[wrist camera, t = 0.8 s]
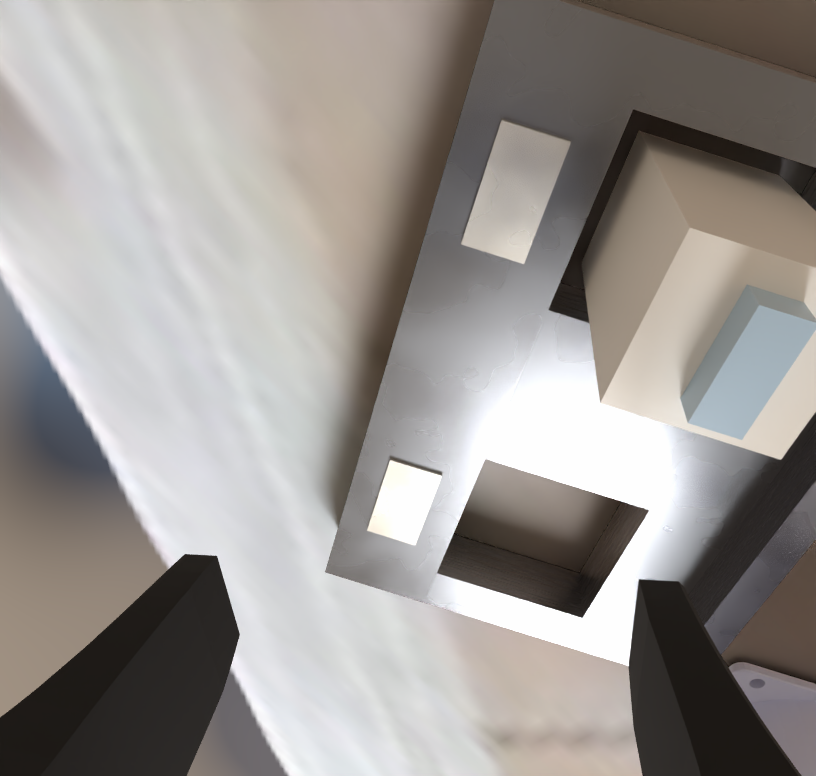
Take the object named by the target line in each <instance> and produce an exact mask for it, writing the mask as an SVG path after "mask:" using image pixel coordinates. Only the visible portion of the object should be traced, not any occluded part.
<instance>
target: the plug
mask: <svg viewBox="0 0 816 776" xmlns="http://www.w3.org/2000/svg"><path fill="white" fill-rule="evenodd" d="M581 264H582V272H583V279H584V287H585V294H586V302H587V309H588V317H589V324H590V331H591V339H592V346H593V354H594V361H595V369H596V376H597V384H598V391H599V399H600V403H601V404H604V405H607V406H611V407H614V408H617V409H620V410H623V411H627V412H630V413H633V414H636V415H639V416H643V417H646V418H649V419H652V420H655V421H658V422H662V423H665V424H668V425H671V426H674V427H678V428H681V429H684V430H687V431H690V432H694V433H697V434H700V435H703V436H706V437H709V438H713V439H716V440H719V441H722V442H725V443H729V444H732V445H735V446H738V447H741V448H745V449H748V450H751V451H754V452H757V453H761V454H764V455H767V456H770V457H773V458H776V459H780V460H781V459H782V458H783V456H784V455H785V454H786V452H787V451H788V449H789V448H790V447H791V445H792V444H793V442H794V441H795V440H796V438H797V437H798V436H799V434H800V433H801V431H802V430H803V429H804V427H805V426H806V424H807V423H808V422H809V420H810V419H811V418H812V416H813V415H814V413H815V412H816V211H815V210H814V209H813V208H812V207H811V206H810V205H809V204H808V203H807V202H806V201H805V200H804V199H803V198H802V197H801V196H800V195H799V194H798V193H797V192H796V191H795V190H794V189H793V188H792V187H791V186H790V185H789V184H788V183H787V182H786V181H785V180H784V179H783V178H782V177H781V176H779V175H777V174H773V173H770V172H767V171H764V170H761V169H758V168H755V167H751V166H748V165H745V164H742V163H739V162H736V161H733V160H730V159H726V158H723V157H720V156H717V155H714V154H711V153H708V152H705V151H701V150H698V149H695V148H692V147H689V146H686V145H683V144H680V143H676V142H673V141H670V140H667V139H664V138H661V137H658V136H654V135H651V134H648V133H645V132H642V131H639V132H638V134H637V136H636V138H635V141H634V143H633V145H632V148H631V150H630V152H629V155H628V157H627V159H626V161H625V164H624V166H623V168H622V171H621V173H620V175H619V178H618V180H617V182H616V184H615V187H614V189H613V191H612V194H611V196H610V198H609V201H608V203H607V205H606V207H605V210H604V212H603V214H602V217H601V219H600V221H599V224H598V226H597V228H596V230H595V233H594V235H593V237H592V240H591V242H590V244H589V247H588V249H587V251H586V253H585V256H584V258H583V260H582V263H581Z"/></svg>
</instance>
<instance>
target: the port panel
mask: <svg viewBox="0 0 816 776" xmlns="http://www.w3.org/2000/svg"><path fill="white" fill-rule="evenodd" d="M633 109H634V110H637V111H640V112H643V113H646V114H649V115H652V116H656V117H659V118H662V119H665V120H668V121H671V122H674V123H677V124H681V125H684V126H687V127H690V128H693V129H696V130H699V131H702V132H706V133H709V134H712V135H715V136H718V137H721V138H724V139H727V140H731V141H734V142H737V143H740V144H743V145H746V146H749V147H752V148H756V149H759V150H762V151H765V152H768V153H771V154H774V155H777V156H781V157H784V158H787V159H790V160H793V161H796V162H799V163H802V164H806V165H809V166H812V167H815V168H816V77H813V76H810V75H806V74H803V73H800V72H797V71H794V70H791V69H788V68H785V67H782V66H778V65H775V64H772V63H769V62H766V61H763V60H760V59H757V58H754V57H750V56H747V55H744V54H741V53H738V52H735V51H732V50H729V49H726V48H723V47H719V46H716V45H713V44H710V43H707V42H704V41H701V40H698V39H695V38H691V37H688V36H685V35H682V34H679V33H676V32H673V31H670V30H667V29H664V28H660V27H657V26H654V25H651V24H648V23H645V22H642V21H639V20H636V19H632V18H629V17H626V16H623V15H620V14H617V13H614V12H611V11H608V10H604V9H601V8H598V7H595V6H592V5H589V4H586V3H583V2H580V1H577V0H494V4H493V7H492V11H491V14H490V17H489V21H488V24H487V27H486V31H485V34H484V38H483V41H482V44H481V48H480V51H479V54H478V58H477V61H476V65H475V68H474V71H473V75H472V78H471V81H470V85H469V88H468V92H467V95H466V98H465V102H464V105H463V108H462V112H461V115H460V119H459V122H458V125H457V129H456V132H455V135H454V139H453V142H452V146H451V149H450V152H449V156H448V159H447V162H446V166H445V169H444V173H443V176H442V179H441V183H440V186H439V189H438V193H437V196H436V200H435V203H434V206H433V210H432V213H431V216H430V220H429V223H428V227H427V230H426V233H425V237H424V240H423V243H422V247H421V250H420V254H419V257H418V260H417V264H416V267H415V270H414V274H413V277H412V281H411V284H410V287H409V291H408V294H407V297H406V301H405V304H404V308H403V311H402V314H401V318H400V321H399V324H398V328H397V331H396V335H395V338H394V341H393V345H392V348H391V351H390V355H389V358H388V361H387V365H386V368H385V372H384V375H383V378H382V382H381V385H380V388H379V392H378V395H377V399H376V402H375V405H374V409H373V412H372V415H371V419H370V422H369V426H368V429H367V432H366V436H365V439H364V442H363V446H362V449H361V453H360V456H359V459H358V463H357V466H356V469H355V473H354V476H353V480H352V483H351V486H350V490H349V493H348V496H347V500H346V503H345V507H344V510H343V513H342V517H341V520H340V523H339V527H338V530H337V534H336V537H335V540H334V544H333V547H332V550H331V554H330V557H329V561H328V564H327V567H326V571H325V572H326V573H330V574H333V575H336V576H339V577H342V578H346V579H349V580H352V581H355V582H359V583H362V584H365V585H368V586H372V587H375V588H378V589H381V590H385V591H388V592H391V593H394V594H398V595H401V596H404V597H407V598H411V599H414V600H417V601H420V602H424V603H427V604H430V605H433V606H437V607H440V608H443V609H446V610H450V611H453V612H456V613H459V614H463V615H466V616H469V617H472V618H476V619H479V620H482V621H485V622H489V623H492V624H495V625H498V626H502V627H505V628H508V629H511V630H515V631H518V632H521V633H524V634H528V635H531V636H534V637H537V638H541V639H544V640H547V641H550V642H554V643H557V644H560V645H563V646H567V647H570V648H573V649H576V650H579V651H583V652H586V653H589V654H592V655H596V656H599V657H602V658H605V659H609V660H612V661H615V662H618V663H622V664H625V665H628V666H629V664H628V663H629V655H630V647H631V638H632V630H633V622H634V614H635V605H636V597H637V589H638V581H639V579H645V580H663V581H679V582H680V583H681V584H682V585H683V586H684V587H685V589H686V591H687V593H688V595H689V597H690V599H691V601H692V603H693V605H694V607H695V609H696V611H697V613H698V615H699V617H700V619H701V621H702V623H703V624H704V626H705V628H706V630H707V632H708V633H709V635H710V637H711V639H712V640H713V642H714V644H715V646H716V647H717V649H718V651H719V653H720V654H722V653H723V652H724V651H725V649H726V648H727V647H728V646H729V644H730V643H731V642H732V641H733V640H734V638H735V637H736V636H737V635H738V633H739V632H740V631H741V630H742V629H743V627H744V626H745V625H746V624H747V623H748V621H749V620H750V619H751V618H752V616H753V615H754V614H755V613H756V612H757V610H758V609H759V608H760V607H761V606H762V604H763V603H764V602H765V601H766V599H767V598H768V597H769V596H770V595H771V593H772V592H773V591H774V590H775V588H776V587H777V586H778V585H779V584H780V582H781V581H782V580H783V579H784V578H785V576H786V575H787V574H788V573H789V571H790V570H791V569H792V568H793V567H794V565H795V564H796V563H797V562H798V561H799V559H800V558H801V557H802V556H803V554H804V553H805V552H806V551H807V550H808V548H809V547H810V546H811V545H812V543H813V542H814V541H815V540H816V412H815V413H814V415H813V416H812V418H811V419H810V420H809V422H808V423H807V424H806V426H805V427H804V429H803V430H802V431H801V433H800V434H799V436H798V437H797V438H796V440H795V441H794V442H793V444H792V445H791V447H790V448H789V449H788V451H787V452H786V454H785V455H784V456H783V458H782V459H781V460H780V459H776V458H773V457H770V456H767V455H764V454H761V453H757V452H754V451H751V450H748V449H745V448H741V447H738V446H735V445H732V444H729V443H725V442H722V441H719V440H716V439H713V438H709V437H706V436H703V435H700V434H697V433H694V432H690V431H687V430H684V429H681V428H678V427H674V426H671V425H668V424H665V423H662V422H658V421H655V420H652V419H649V418H646V417H643V416H639V415H636V414H633V413H630V412H627V411H623V410H620V409H617V408H614V407H611V406H607V405H604V404H601V403H600V399H599V391H598V384H597V376H596V369H595V361H594V354H593V346H592V339H591V331H590V324H589V317H588V309H587V302H586V294H585V291H584V290H581V289H578V288H575V287H572V286H569V285H565V284H562V283H560V281H561V279H562V276H563V274H564V272H565V269H566V267H567V265H568V262H569V260H570V257H571V255H572V253H573V250H574V248H575V246H576V243H577V241H578V239H579V236H580V234H581V232H582V229H583V227H584V224H585V222H586V220H587V217H588V215H589V213H590V210H591V208H592V206H593V203H594V201H595V198H596V196H597V194H598V191H599V189H600V187H601V184H602V182H603V180H604V177H605V175H606V172H607V170H608V168H609V165H610V163H611V161H612V158H613V156H614V154H615V151H616V149H617V147H618V144H619V142H620V139H621V137H622V135H623V132H624V130H625V128H626V125H627V123H628V121H629V118H630V116H631V113H632V111H633ZM801 197H802V198H803V199H804V200H805V201H806V202H807V203H808V204H809V205H810V206H811V207H812V208H813V209H814V210H815V211H816V170H815V172H814V174H813V176H812V177H811V179H810V181H809V182H808V184H807V186H806V188H805V189H804V191H803V193H802V194H801ZM485 459H487V460H491V461H494V462H497V463H500V464H503V465H507V466H510V467H513V468H516V469H519V470H523V471H526V472H529V473H532V474H535V475H539V476H542V477H545V478H548V479H552V480H555V481H558V482H561V483H564V484H568V485H571V486H574V487H577V488H580V489H584V490H587V491H590V492H593V493H596V494H600V495H603V496H606V497H609V498H613V499H616V500H619V501H622V502H621V503H620V505H619V507H618V509H617V510H616V512H615V514H614V515H613V517H612V519H611V520H610V522H609V524H608V526H607V527H606V529H605V531H604V532H603V534H602V536H601V538H600V539H599V541H598V543H597V544H596V546H595V548H594V550H593V551H592V553H591V555H590V556H589V558H588V560H587V561H586V563H585V565H584V567H583V568H582V570H581V572H580V573H577V572H574V571H571V570H567V569H564V568H561V567H558V566H554V565H551V564H548V563H545V562H541V561H538V560H535V559H532V558H529V557H525V556H522V555H519V554H516V553H512V552H509V551H506V550H503V549H500V548H496V547H493V546H490V545H487V544H483V543H480V542H477V541H474V540H470V539H467V538H464V537H461V536H458V535H454V531H455V529H456V527H457V524H458V522H459V520H460V517H461V515H462V513H463V510H464V508H465V505H466V503H467V501H468V498H469V496H470V494H471V491H472V489H473V487H474V484H475V482H476V479H477V477H478V475H479V472H480V470H481V468H482V465H483V463H484V461H485Z"/></svg>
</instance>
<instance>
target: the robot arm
mask: <svg viewBox="0 0 816 776" xmlns="http://www.w3.org/2000/svg"><path fill="white" fill-rule="evenodd" d="M239 635H240V634H239V630H238V627H237V623H236V620H235V617H234V613H233V610H232V606H231V603H230V599H229V596H228V593H227V589H226V586H225V582H224V579H223V575H222V572H221V568H220V565H219V562H218V558H217V556H208V555H190V554H185V555H184V556H183V557H181V558H180V559H179V560H178V561H177V562H176V563H175V564H174V565H173V566H172V567H171V568H170V569H168V570H167V571H166V572H165V573H164V574H163V575H162V576H161V577H160V578H159V579H158V580H157V581H156V582H155V583H154V584H153V585H152V586H151V587H150V588H148V589H147V590H146V591H145V592H144V593H143V594H142V595H141V596H140V597H139V598H138V599H137V600H136V601H135V602H134V603H133V604H132V605H130V607H128V608H127V609H126V610H125V611H124V612H123V613H122V614H121V615H120V616H119V617H118V618H117V619H116V620H114V621H113V622H112V623H111V624H110V625H109V626H108V627H107V628H106V629H105V630H104V631H103V632H102V633H100V634H99V635H98V636H97V637H96V638H95V639H94V640H93V641H92V642H91V643H90V644H88V645H87V646H86V647H85V648H84V649H83V650H82V651H80V652H79V653H78V654H77V655H76V656H75V657H74V658H72V659H71V660H70V661H69V662H68V663H67V664H65V665H64V666H63V667H62V668H61V669H59V670H58V671H57V672H56V673H55V674H54V675H52V676H51V677H50V678H49V679H48V680H47V681H45V682H44V683H43V684H42V685H41V686H40V687H39V688H37V689H36V690H35V691H34V692H32V693H31V694H30V695H29V696H27V697H26V698H25V699H24V700H22V701H21V702H20V703H18V704H17V705H16V706H15V707H14V708H12V709H11V710H9V711H8V712H7V713H6V714H4V715H3V716H2V717H0V776H187V773H188V771H189V769H190V767H191V764H192V762H193V760H194V757H195V755H196V753H197V750H198V748H199V746H200V744H201V741H202V739H203V737H204V735H205V732H206V730H207V727H208V725H209V723H210V721H211V718H212V716H213V713H214V711H215V709H216V707H217V704H218V702H219V699H220V697H221V695H222V692H223V690H224V686H225V683H226V680H227V677H228V674H229V670H230V667H231V664H232V660H233V657H234V653H235V650H236V646H237V642H238V639H239ZM628 664H629V676H630V689H631V702H632V713H633V724H634V731H635V737H636V742H637V748H638V753H639V758H640V764H641V769H642V775H643V776H816V684H815V683H811V682H808V681H805V680H802V679H798V678H795V677H792V676H789V675H785V674H782V673H779V672H776V671H772V670H769V669H766V668H763V667H759V666H756V665H753V664H750V663H746V662H737V663H734V664H732V665H731V666H730V667H728V666H727V664H726V663H725V661H724V659H723V658H722V656H721V654H720V653H719V651H718V649H717V647H716V646H715V644H714V642H713V640H712V639H711V637H710V635H709V633H708V632H707V630H706V628H705V626H704V624H703V623H702V621H701V619H700V617H699V615H698V613H697V611H696V609H695V607H694V605H693V603H692V601H691V599H690V597H689V595H688V593H687V591H686V589H685V587H684V586H683V585H682V584H681V583H680V582H679V581H663V580H645V579H639V581H638V589H637V597H636V605H635V614H634V622H633V630H632V638H631V647H630V655H629V663H628Z"/></svg>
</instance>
